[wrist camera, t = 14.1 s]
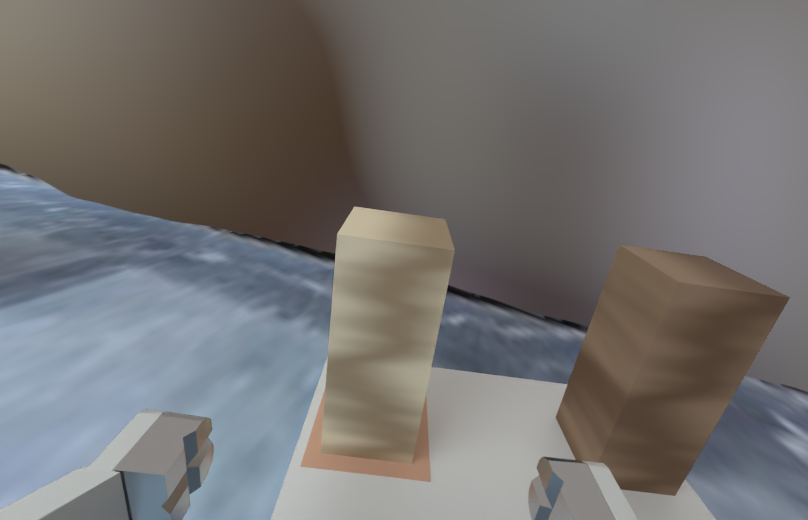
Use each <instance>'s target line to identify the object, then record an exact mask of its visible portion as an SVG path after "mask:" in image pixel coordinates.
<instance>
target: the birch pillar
mask: <svg viewBox="0 0 808 520" xmlns="http://www.w3.org/2000/svg"><path fill="white" fill-rule="evenodd" d="M454 252H455V249H454V246H453V243H452V240H451V237H450V233H449V230H448V227H447V224H446V220H445V219H439V218H432V217H425V216H418V215H410V214H403V213H396V212H389V211H381V210H375V209H368V208H361V207H354V208H353V210H352V211H351V213H350V215H349V216H348V218H347V219H346V221H345V223H344V224H343V226H342V227H341V229H340V230H339V232H338V233H337V244H336V256H335V269H334V282H333V295H332V309H331V322H330V335H329V348H328V361H327V374H326V387H325V400H324V413H323V426H322V440H321V453H325V454H333V455H342V456H350V457H358V458H366V459H375V460H383V461H391V462H399V463H408V464H412V462H413V457H414V452H415V447H416V442H417V437H418V432H419V427H420V422H421V417H422V412H423V407H424V402H425V397H426V392H427V387H428V382H429V377H430V372H431V367H432V362H433V357H434V352H435V347H436V342H437V337H438V332H439V327H440V322H441V317H442V312H443V307H444V302H445V297H446V292H447V287H448V282H449V276H450V272H451V266H452V262H453V257H454Z"/></svg>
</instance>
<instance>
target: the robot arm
mask: <svg viewBox="0 0 808 520" xmlns="http://www.w3.org/2000/svg"><path fill="white" fill-rule="evenodd" d="M211 431H212V424H211V419H209V418H207V417H200V416H193V415H186V414H179V413H172V412H163V411H156V410H148V409H145V410H143V411H141V412H139V413H138V414H137V415H136V416H135V417H134V418H133V419H132V420H131V421H130V422H129V423H128V425H127V426H126V427H125V428H124V429H123V430H122V431H121V432H120V433H119V434H118V435H117V436H116V438H115V439H114V440H113V441H112V442H111V443H110V444H109V445H108V446H107V447H106V448H105V449H104V450H103V452H102V453H101V454H100V455H99V456H98V457H97V458H96V459H95V460H94V461H93V462H92V463H91V465H90V466H89V467H88V468H78V469H76V470H74V471H73V472H71V473H69V474H67V475H65V476H63V477H61V478H59V479H57V480H55V481H53V482H52V483H50V484H48V485H46V486H44V487H42V488H40V489H38V490H36V491H34V492H32V493H30V494H29V495H27V496H25V497H23V498H21V499H19V500H17V501H15V502H13V503H11V504H9V505H8V506H6V507H4V508H2V509H0V520H182V519H183V517H184V515H185V514H186V512H187V510H188V508H189V507H190V497H189V495H190V494H191V493H193V492H194V491H195V490H197V489H198V488H200V487H201V486H202V484H203V482H204V480H205V478H206V476H207V474H208V472H209V469H210V466H211V463H212V459H213V452H214V451H213V443H212V442H211V441H210V439H209V438H208V436H209V434H210V432H211ZM536 468H537V470H538V473H539V476H537V477H536V478H534V479H533V480H532V481H531V484H530V487H529V494H528V504H529V511H530V515H531V519H532V520H638V519H637V517H636V515H635V514H634V512H633V510H632V508H631V507H630V505H629V503H628V501H627V500H626V498H625V496H624V494H623V493H622V491H621V489H620V487H619V486H618V484H617V482H616V480H615V479H614V477H613V475H612V473H611V471H610V470H609V468H608V467H607V466H606V465H605V464H604V463H598V462H589V461H580V460H572V459H562V458H553V457H542V458H541V459H540V460H539V462H538V464H537V467H536Z"/></svg>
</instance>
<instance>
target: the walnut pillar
mask: <svg viewBox="0 0 808 520" xmlns="http://www.w3.org/2000/svg"><path fill="white" fill-rule="evenodd" d="M788 300H789V297H787V296H786V295H783V294H782V293H779V292H777V291H775V290H773V289H771V288H769V287H767V286H765V285H763V284H761V283H759V282H757V281H755V280H753V279H751V278H748V277H746V276H744V275H742V274H740V273H738V272H736V271H734V270H732V269H730V268H728V267H726V266H724V265H722V264H720V263H717V262H715V261H713V260H711V259H709V258H707V257H703V256H695V255H689V254H682V253H674V252H667V251H660V250H653V249H646V248H639V247H632V246H625V245H619V247H618V250H617V253H616V255H615V258H614V260H613V263H612V266H611V269H610V271H609V274H608V277H607V279H606V282H605V285H604V288H603V290H602V293H601V296H600V299H599V301H598V304H597V307H596V309H595V312H594V315H593V317H592V320H591V323H590V325H589V328H588V331H587V333H586V336H585V339H584V342H583V344H582V347H581V350H580V352H579V355H578V358H577V360H576V363H575V366H574V369H573V371H572V374H571V377H570V379H569V382H568V385H567V388H566V390H565V393H564V396H563V398H562V401H561V404H560V406H559V409H558V412H557V415H556V419H557V421H558V424H559V426H560V428H561V430H562V432H563V434H564V436H565V438H566V440H567V443H568V445H569V447H570V449H571V451H572V453H573V455H574V457H575V459H576V460H580V461H589V462H598V463H604V464H605V465H606V466H607V467H608V468H609V470H610V471H611V473H612V475H613V477H614V479H615V480H616V482H617V484H618V486H619V487H620V489H621V490H630V491H638V492H646V493H655V494H663V495H672V496H675V495H676V494H677V492H678V490H679V489H680V487H681V485H682V483H683V482H684V480H685V478H686V476H687V475H688V473H689V471H690V469H691V468H692V466H693V464H694V463H695V461H696V459H697V457H698V456H699V454H700V452H701V450H702V449H703V447H704V445H705V444H706V442H707V440H708V438H709V437H710V435H711V433H712V431H713V430H714V428H715V426H716V425H717V423H718V421H719V419H720V418H721V416H722V414H723V412H724V411H725V409H726V407H727V406H728V404H729V402H730V400H731V399H732V397H733V395H734V393H735V392H736V390H737V388H738V387H739V385H740V383H741V381H742V380H743V378H744V376H745V374H746V373H747V371H748V369H749V367H750V366H751V364H752V362H753V360H754V359H755V357H756V355H757V353H758V352H759V350H760V348H761V347H762V345H763V343H764V342H765V340H766V338H767V336H768V335H769V333H770V331H771V329H772V328H773V326H774V324H775V323H776V321H777V319H778V317H779V315H780V313H781V312H782V310H783V309H784V307H785V305H786V304H787V302H788Z"/></svg>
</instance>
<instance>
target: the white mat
mask: <svg viewBox="0 0 808 520" xmlns="http://www.w3.org/2000/svg"><path fill="white" fill-rule="evenodd" d="M327 361H328V357H327V359H326V362H325V365H324V368H323V371H322V374H321V377H320V379H319V382H318V385H317V388H316V391H315V394H314V397H313V399H312V402H311V405H310V408H309V411H308V414H307V417H306V419H305V422H304V425H303V428H302V431H301V434H300V437H299V439H298V442H297V445H296V448H295V451H294V454H293V457H292V459H291V462H290V465H289V468H288V471H287V474H286V477H285V479H284V482H283V485H282V488H281V491H280V494H279V497H278V499H277V502H276V505H275V508H274V511H273V514H272V517H271V519H270V520H532V519H531V515H530V511H529V504H528V494H529V487H530V484H531V481H532V480H533V479H534V478H536V477H537V476H539V473H538V470H537V468H536V467H537V464H538V462H539V460H540V459H541V458H542V457H553V458H562V459H572V460H576V459H575V457H574V455H573V453H572V451H571V449H570V447H569V445H568V443H567V440H566V438H565V436H564V434H563V432H562V430H561V428H560V426H559V424H558V421H557V419H556V415H557V412H558V409H559V406H560V404H561V401H562V398H563V396H564V393H565V390H566V388H567V385H568V384H561V383H553V382H545V381H537V380H529V379H522V378H514V377H506V376H498V375H490V374H483V373H475V372H467V371H459V370H451V369H443V368H436V367H431V372H430V377H429V382H428V387H427V392H426V397H425V402H424V407H423V412H422V417H421V422H420V427H419V432H418V437H417V442H416V447H415V452H414V457H413V462H412V464H408V463H399V462H391V461H383V460H375V459H366V458H358V457H350V456H342V455H333V454H325V453H321V440H322V426H323V413H324V400H325V387H326V374H327ZM621 491H622V493H623V494H624V496H625V498H626V500H627V501H628V503H629V505H630V507H631V508H632V510H633V512H634V514H635V515H636V517H637V519H638V520H716V519H715V517H714V516H713V515H712V513H711V512H710V511H709V509H708V508H707V507H706V505H705V504H704V503H703V501H702V500H701V499H700V497H699V496H698V495H697V493H696V492H695V491H694V489H693V488H692V487H691V485H690V484H689V483H688V481H687V480H686V479H685V480H684V482H683V483H682V485H681V487H680V489H679V490H678V492H677V494H676V495H675V496H672V495H663V494H655V493H646V492H638V491H630V490H621Z"/></svg>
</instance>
